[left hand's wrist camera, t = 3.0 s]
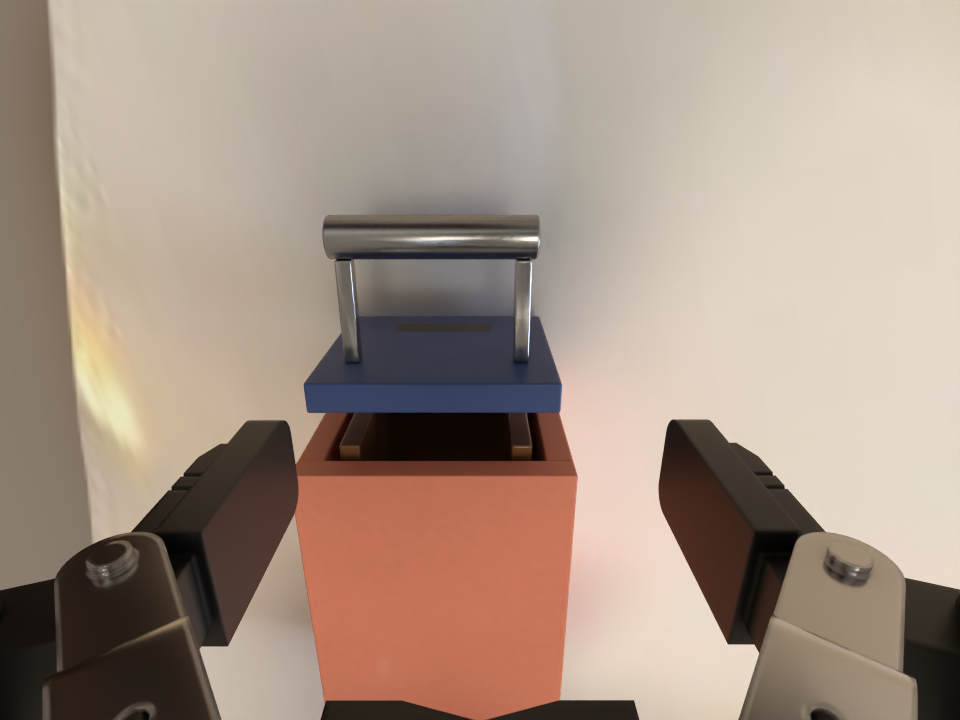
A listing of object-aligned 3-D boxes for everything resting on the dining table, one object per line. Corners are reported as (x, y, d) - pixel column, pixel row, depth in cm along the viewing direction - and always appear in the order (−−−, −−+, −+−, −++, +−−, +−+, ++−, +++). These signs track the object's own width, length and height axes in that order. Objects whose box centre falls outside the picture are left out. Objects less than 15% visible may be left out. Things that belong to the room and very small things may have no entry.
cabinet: (351, 367, 29) (288, 476, 19) (546, 367, 29) (577, 476, 19) (377, 631, 36) (340, 804, 27) (533, 631, 36) (551, 804, 27)
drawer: (342, 199, 25) (280, 223, 17) (544, 199, 25) (572, 223, 17) (378, 590, 33) (348, 721, 26) (527, 591, 33) (541, 721, 26)
